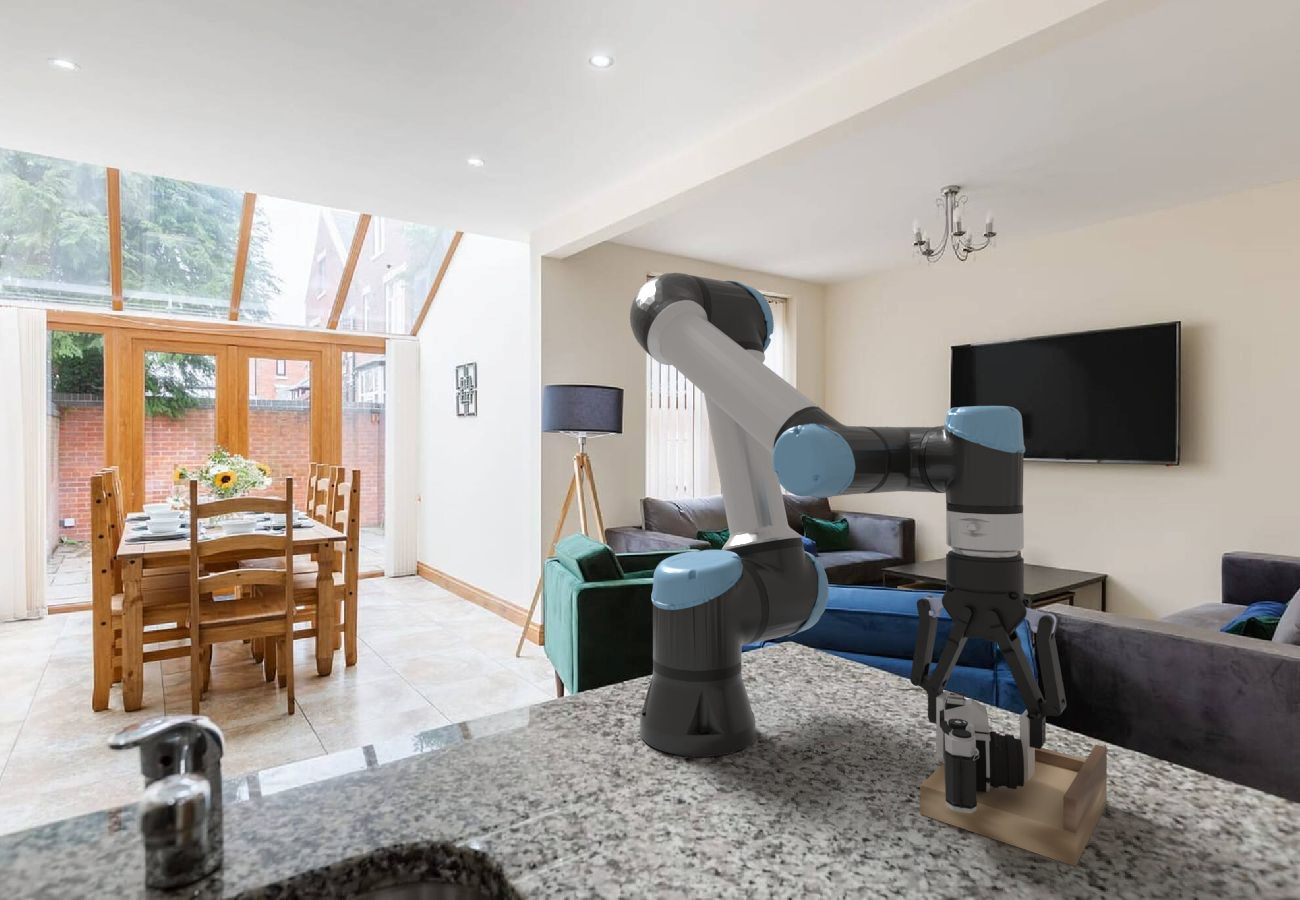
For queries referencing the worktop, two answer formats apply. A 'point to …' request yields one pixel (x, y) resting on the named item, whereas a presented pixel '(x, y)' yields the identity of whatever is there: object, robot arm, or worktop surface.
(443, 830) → the worktop surface
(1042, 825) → the wooden corner tray
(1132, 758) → the worktop surface
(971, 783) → the camera
